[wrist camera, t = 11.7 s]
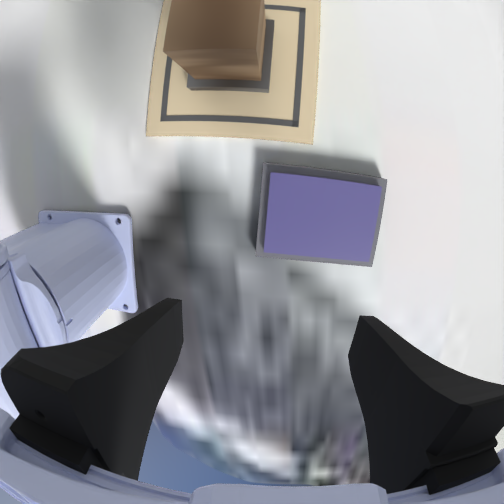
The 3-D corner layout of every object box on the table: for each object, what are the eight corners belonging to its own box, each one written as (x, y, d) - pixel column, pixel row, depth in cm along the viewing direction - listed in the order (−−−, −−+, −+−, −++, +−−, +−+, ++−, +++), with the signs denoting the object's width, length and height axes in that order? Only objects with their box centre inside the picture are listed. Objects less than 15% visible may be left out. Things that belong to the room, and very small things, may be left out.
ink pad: (256, 251, 20) (254, 258, 19) (263, 162, 18) (262, 163, 17) (367, 261, 20) (374, 269, 19) (381, 177, 18) (390, 180, 17)
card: (147, 136, 18) (145, 136, 18) (165, -1, 14) (164, -2, 14) (312, 144, 18) (313, 144, 18) (320, 1, 14) (320, -1, 14)
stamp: (191, 90, 17) (150, 62, 10) (199, 26, 15) (167, -23, 9) (269, 93, 17) (267, 60, 10) (274, 26, 15) (275, -28, 8)
